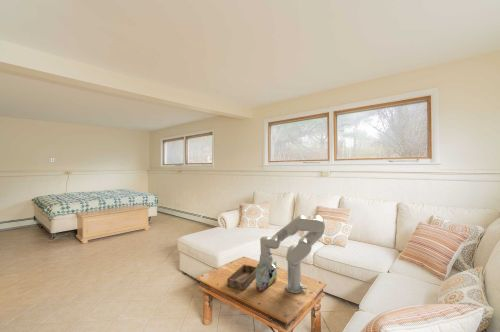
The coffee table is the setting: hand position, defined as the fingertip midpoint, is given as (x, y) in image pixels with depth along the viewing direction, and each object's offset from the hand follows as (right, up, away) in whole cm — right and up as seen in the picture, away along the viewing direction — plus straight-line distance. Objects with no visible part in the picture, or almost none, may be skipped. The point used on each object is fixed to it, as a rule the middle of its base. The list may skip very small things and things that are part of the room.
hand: (266, 276), depth 178 cm
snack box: (0, -6, 0) cm, 6 cm away
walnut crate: (-18, -7, +9) cm, 21 cm away
